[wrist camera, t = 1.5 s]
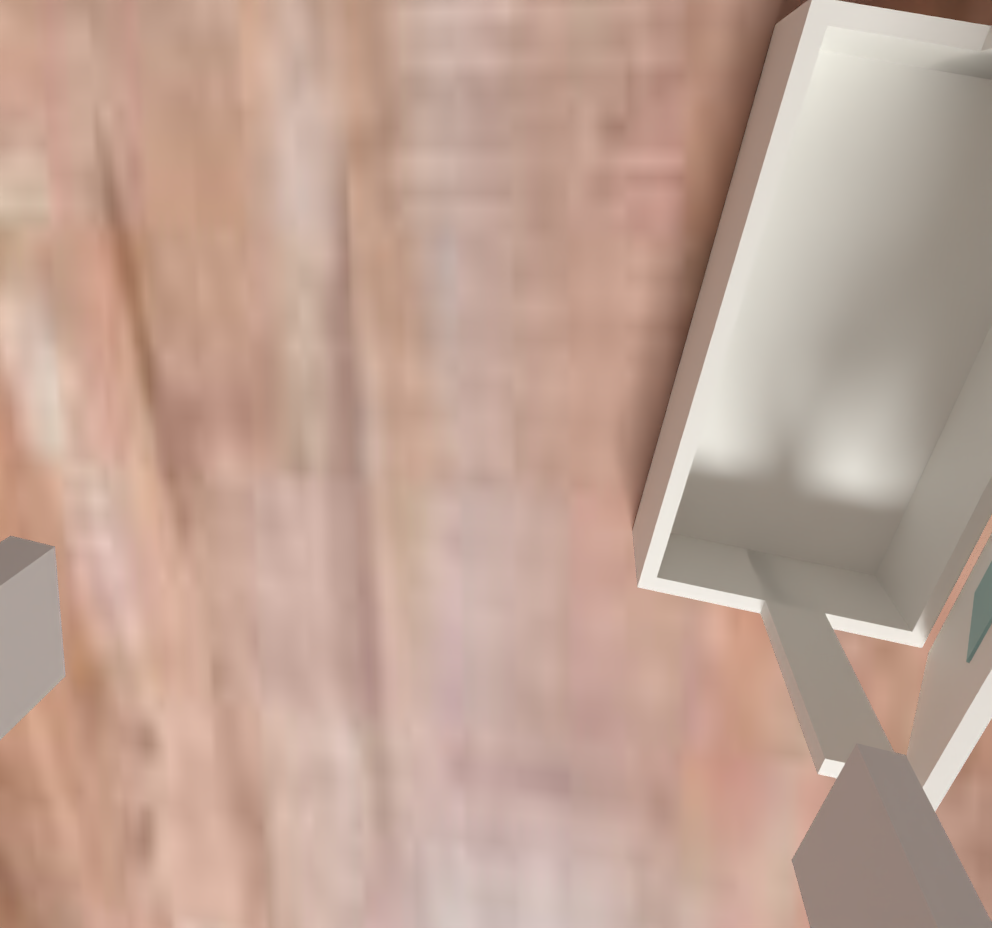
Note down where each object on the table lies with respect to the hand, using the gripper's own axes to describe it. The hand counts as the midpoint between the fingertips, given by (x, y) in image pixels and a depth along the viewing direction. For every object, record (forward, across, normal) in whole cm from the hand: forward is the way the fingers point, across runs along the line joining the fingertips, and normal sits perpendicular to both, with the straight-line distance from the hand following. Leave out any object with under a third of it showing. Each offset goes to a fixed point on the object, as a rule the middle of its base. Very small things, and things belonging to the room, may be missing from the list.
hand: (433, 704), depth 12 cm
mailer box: (+29, +14, +2) cm, 32 cm away
